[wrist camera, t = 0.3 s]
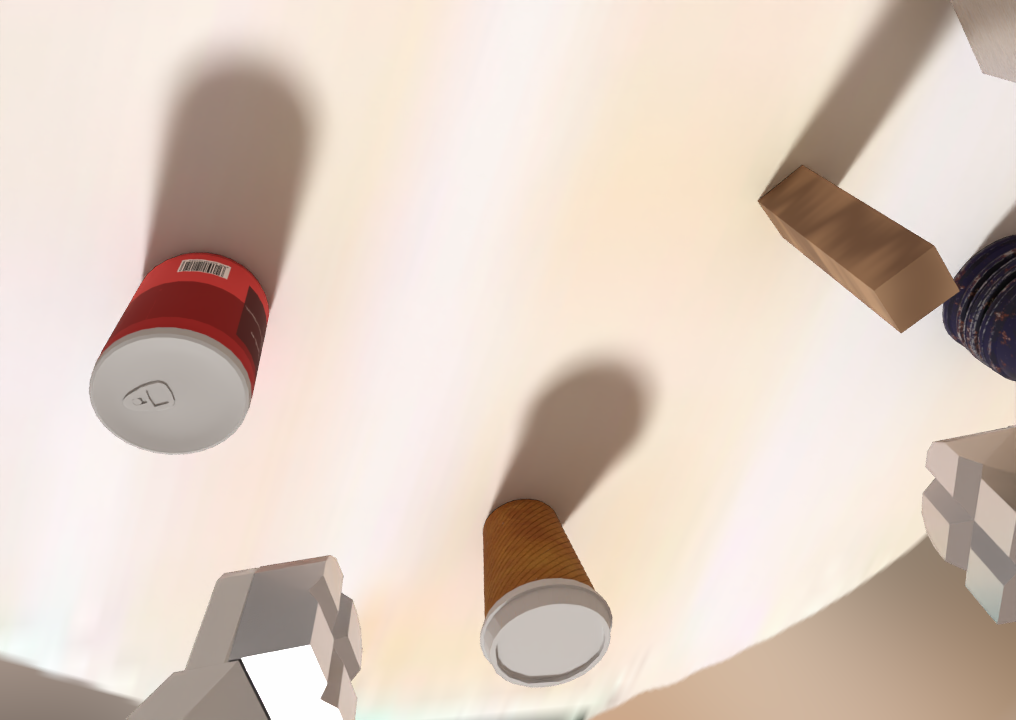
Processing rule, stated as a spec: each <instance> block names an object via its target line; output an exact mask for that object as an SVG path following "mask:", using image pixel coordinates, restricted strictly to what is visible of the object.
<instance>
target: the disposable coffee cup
mask: <svg viewBox="0 0 1016 720" xmlns="http://www.w3.org/2000/svg"><path fill="white" fill-rule="evenodd" d="M483 552H484V598H485V599H484V602H485V620H484V624H483V627H482V630H481V636H480V644H481V648H482V651H483V654H484V656H485V657H486V659H487V660H488V661H489V662H490V664H492V666H493V668H494V669H495V671H496V673H497V674H498V675H500V676H501V677H502V678H503V679H505V680H506V681H509V682H511V683H513V684H517V685H521V686H526V687H549V686H555V685H559V684H563V683H566V682H569V681H571V680H574V679H576V678H578V677H580V676H582V675H584V674H585V673H586V672H588V671H589V670H590V669H592V668H593V667H594V666H595V665H596V664H597V663H598V662H599V661H600V660H601V659H602V658H603V656H604V654H605V653H606V651H607V649H608V646H609V644H610V632H611V628H612V614H611V611H610V608H609V606H608V604H607V602H606V601H605V600H604V599H603V598H602V597H601V596H600V595H599V594H598V593H597V592H596V591H595V590H594V587H593V585H592V584H591V582H590V579H589V578H588V576H587V574H586V572H585V570H584V568H583V566H582V565H581V562H580V560H579V559H578V556H577V555H576V553H575V551H574V549H573V547H572V545H571V543H570V541H569V539H568V538H567V535H566V534H565V532H564V529H563V528H562V526H561V524H560V522H559V520H558V518H557V515H556V514H555V512H554V510H553V509H552V508H551V507H550V506H548V505H546V504H545V503H543V502H540V501H538V500H531V499H521V500H515V501H512V502H508V503H506V504H504V505H502V506H500V507H499V508H497V509H496V510H495V511H494V512H492V513H491V514H490V516H489V517H488V518H487V520H486V522H485V525H484V528H483Z"/></svg>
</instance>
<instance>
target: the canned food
mask: <svg viewBox="0 0 1016 720" xmlns="http://www.w3.org/2000/svg"><path fill="white" fill-rule="evenodd" d="M268 317H269V308H268V302H267V299H266V295H265V293H264V291H263V289H262V287H261V286H260V284H259V282H258V280H257V279H256V278H255V277H254V276H253V274H252V273H251V272H250V271H248V270H247V269H246V268H245V267H244V266H242V265H241V264H239V263H237V262H235V261H234V260H232V259H229V258H227V257H224V256H221V255H217V254H211V253H189V254H183V255H180V256H177V257H174V258H171V259H169V260H166V261H165V262H163V263H161V264H159V265H158V266H156V267H155V268H154V269H153V270H152V271H150V272H149V273H148V274H147V276H146V277H145V278H144V280H143V281H142V283H141V284H140V286H139V288H138V290H137V291H136V293H135V295H134V296H133V298H132V300H131V302H130V303H129V305H128V307H127V309H126V310H125V312H124V314H123V315H122V317H121V319H120V321H119V322H118V324H117V326H116V328H115V329H114V331H113V333H112V334H111V336H110V338H109V340H108V341H107V343H106V345H105V347H104V348H103V350H102V352H101V354H100V356H99V358H98V360H97V362H96V364H95V367H94V369H93V372H92V376H91V379H90V387H89V394H90V400H91V404H92V407H93V409H94V411H95V413H96V416H97V417H98V418H99V420H100V421H101V422H102V424H103V425H104V426H105V427H106V428H107V429H108V430H109V431H110V432H112V433H113V434H114V435H115V436H116V437H118V438H120V439H121V440H123V441H124V442H126V443H128V444H130V445H133V446H135V447H137V448H140V449H143V450H146V451H150V452H154V453H161V454H170V455H173V454H189V453H195V452H200V451H203V450H206V449H209V448H212V447H214V446H216V445H218V444H220V443H221V442H223V441H225V440H226V439H227V438H229V437H230V436H231V435H232V434H234V433H235V431H236V430H237V429H238V428H239V426H240V425H241V424H242V422H243V420H244V418H245V416H246V414H247V411H248V409H249V407H250V402H251V398H252V395H253V390H254V385H255V381H256V376H257V371H258V366H259V361H260V356H261V352H262V347H263V342H264V337H265V332H266V327H267V322H268Z"/></svg>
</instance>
